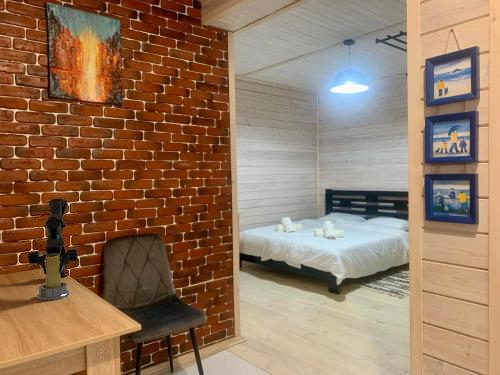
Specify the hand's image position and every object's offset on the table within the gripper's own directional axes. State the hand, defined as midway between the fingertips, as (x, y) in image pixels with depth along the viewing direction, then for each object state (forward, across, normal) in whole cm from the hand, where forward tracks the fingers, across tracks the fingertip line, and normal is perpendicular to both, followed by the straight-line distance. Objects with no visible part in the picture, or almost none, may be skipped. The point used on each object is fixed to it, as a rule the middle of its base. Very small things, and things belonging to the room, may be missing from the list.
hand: (52, 273), depth 159 cm
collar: (+6, 0, +8) cm, 10 cm away
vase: (+4, 0, +6) cm, 7 cm away
